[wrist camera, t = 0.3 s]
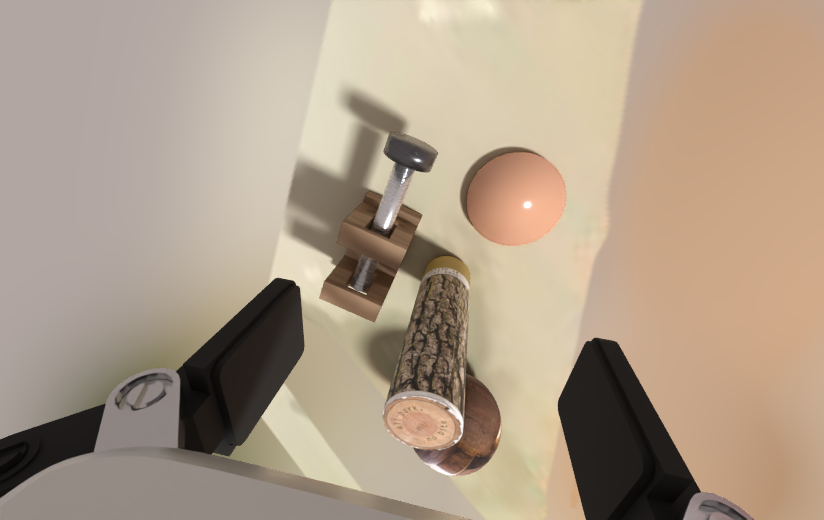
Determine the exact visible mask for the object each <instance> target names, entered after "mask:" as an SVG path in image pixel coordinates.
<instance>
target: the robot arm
mask: <svg viewBox="0 0 824 520" xmlns="http://www.w3.org/2000/svg"><path fill="white" fill-rule="evenodd" d="M303 351H304V335H303V321H302V308H301V295H300V288H299V286H296V283H295V282H294V281H292V280H287V279H281V278H276V279H274V280H273V281H272V282H271V283H270V284H269V285H268V286H267V287H266V288H264V289H263V290H262V291H261V292H260V293H259V294H258V295H257V296H256V297H255V298H254V299H253V300H252V301H250V303H248V304H247V305H246V306H245V307H244V308H243V309H242V310H241V311H240V312H239V313H238V314H237V315H235V316H234V317H233V318H232V319H231V320H230V321H229V322H228V323H227V324H226V325H225V326H224V327H223V328H221V330H219V332H217V333H216V334H215V335H214V336H213V337H212V338H211V339H210V340H209V341H207V342H206V343H205V344H204V345H203V346H202V347H201V348H200V349H199V350H198V351H197V352H196V353H195V354H194V355H192V356H191V357H190V358H189V359H188V360H187V361H186V362H185V363H184V364H183V366H182V367H180V368H179V369H178V370H177V371H176V372H175V371H173V370H171V369H168V368H157V369H151V370H147V371H143V372H141V373H138V374H136V375H134V376H132V377H130V378H128V379H126V380H125V381H123V382H122V383H121V384H119V385H118V386H117V387H116V388H115V389H114V390H113V391H112V393H111V394H110V395H109V397H108V399H107V401H106V404H103V405H100V406H97V407H94V408H91V409H88V410H85V411H82V412H79V413H76V414H73V415H70V416H67V417H64V418H61V419H58V420H55V421H52V422H49V423H46V424H43V425H40V426H37V427H34V428H31V429H28V430H25V431H22V432H19V433H16V434H13V435H10V436H8V437H5V438H3V439H0V520H470V519H467V518H463V517H459V516H455V515H451V514H448V513H444V512H440V511H436V510H432V509H428V508H424V507H420V506H416V505H412V504H409V503H405V502H401V501H397V500H393V499H389V498H385V497H381V496H377V495H373V494H369V493H366V492H362V491H358V490H354V489H350V488H346V487H342V486H338V485H334V484H330V483H326V482H322V481H318V480H314V479H310V478H306V477H302V476H298V475H294V474H290V473H286V472H282V471H278V470H274V469H270V468H266V467H262V466H258V465H254V464H249V463H245V462H241V461H236V460H232V459H227V458H223V457H219V456H215V455H212V453H218V454H221V455H225V456H230V455H231V453H232V452H233V450H234V449H235V447H236V446H237V445H238V446H240V445H242V444H243V443H244V442H245V440H246V439H247V437H248V436H249V434H250V433H251V431H252V430H253V428H254V427H255V425H256V424H257V422H258V421H259V419H260V418H261V416H262V415H263V413H264V412H265V410H266V409H267V407H268V406H269V404H270V403H271V401H272V400H273V398H274V397H275V395H276V394H277V392H278V391H279V389H280V388H281V386H282V385H283V383H284V381H285V380H286V378H287V377H288V375H289V374H290V372H291V371H292V369H293V368H294V366H295V365H296V363H297V362H298V360H299V359H300V357H301V356H302V353H303ZM558 412H559V416H560V420H561V424H562V428H563V431H564V435H565V440H566V443H567V447H568V451H569V455H570V459H571V463H572V467H573V471H574V475H575V479H576V483H577V487H578V491H579V495H580V499H581V502H582V506H583V510H584V514H585V518H586V520H754V519H753V518H752V517H751V516H750V515H749V514H747V513H746V512H745V511H744V510H742V509H741V508H740V507H739V506H737V505H735V504H734V503H732V502H731V501H728V500H727V499H726V498H723V497H721V496H718V495H716V494H713V493H707V492H701V491H700V489H699V488H698V486H697V484H696V482H695V481H694V479H693V477H692V475H691V473H690V472H689V470H688V468H687V466H686V464H685V462H684V461H683V459H682V457H681V455H680V453H679V452H678V450H677V448H676V446H675V445H674V443H673V441H672V439H671V437H670V436H669V434H668V432H667V430H666V428H665V427H664V425H663V423H662V421H661V419H660V418H659V416H658V414H657V412H656V411H655V409H654V407H653V405H652V403H651V402H650V400H649V398H648V396H647V395H646V393H645V391H644V389H643V387H642V386H641V384H640V382H639V380H638V378H637V377H636V375H635V373H634V371H633V369H632V368H631V366H630V364H629V362H628V361H627V359H626V357H625V355H624V353H623V352H622V350H621V348H620V346H619V345H618V343H617V342H615V341H611V340H606V339H600V338H594V339H593V340H592V341H587V342H586V343H585V345H584V347H583V349H582V351H581V353H580V355H579V357H578V359H577V362H576V364H575V366H574V368H573V370H572V372H571V374H570V376H569V378H568V381H567V383H566V385H565V387H564V389H563V391H562V393H561V396H560V398H559V400H558Z"/></svg>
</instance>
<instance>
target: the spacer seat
mask: <svg viewBox="0 0 824 520" xmlns="http://www.w3.org/2000/svg"><path fill="white" fill-rule="evenodd" d="M565 204H566V187H565V184H564V180H563V178H562V176H561V174H560V173H559V171H558V170H557V169H556V168H555V167H554V166H553V165H552V164H551V163H550V162H549V161H548V160H546V159H545V158H543V157H541V156H539V155H536V154H533V153H528V152H512V153H507V154H503V155H500V156H498V157H496V158H494V159H492V160H491V161H489V162H488V163H486V164H485V165H484V166H483V167H482V168H481V169H480V170H479V171H478V172H477V174H476V175H475V176H474V178H473V180H472V182H471V184H470V187H469V190H468V195H467V212H468V215H469V218H470V221H471V223H472V224H473V226H474V228H475V229H476V230H477V231H478V232H479V233H480V234H481V235H482V236H483V237H485V238H486V239H488V240H490V241H492V242H494V243H497V244H501V245H508V246H517V245H523V244H528V243H531V242H533V241H535V240H538V239H539V238H541V237H543V236H544V235H546V234H547V233H548V232H549V231H550V230H551V229H552V228H553V227H554V226H555V225H556V224H557V222H558V221H559V219H560V217H561V216H562V213H563V211H564V208H565Z"/></svg>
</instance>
